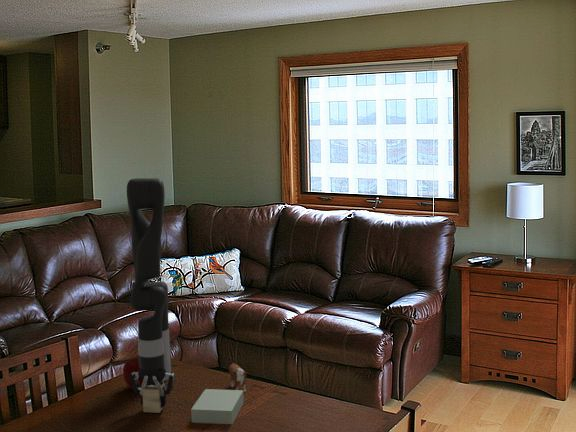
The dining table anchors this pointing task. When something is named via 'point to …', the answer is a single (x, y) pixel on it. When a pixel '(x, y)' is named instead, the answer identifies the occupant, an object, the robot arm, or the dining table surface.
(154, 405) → the maple block
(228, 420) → the plinth
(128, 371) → the apple
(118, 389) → the dining table surface
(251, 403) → the dining table surface
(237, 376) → the bull figurine
